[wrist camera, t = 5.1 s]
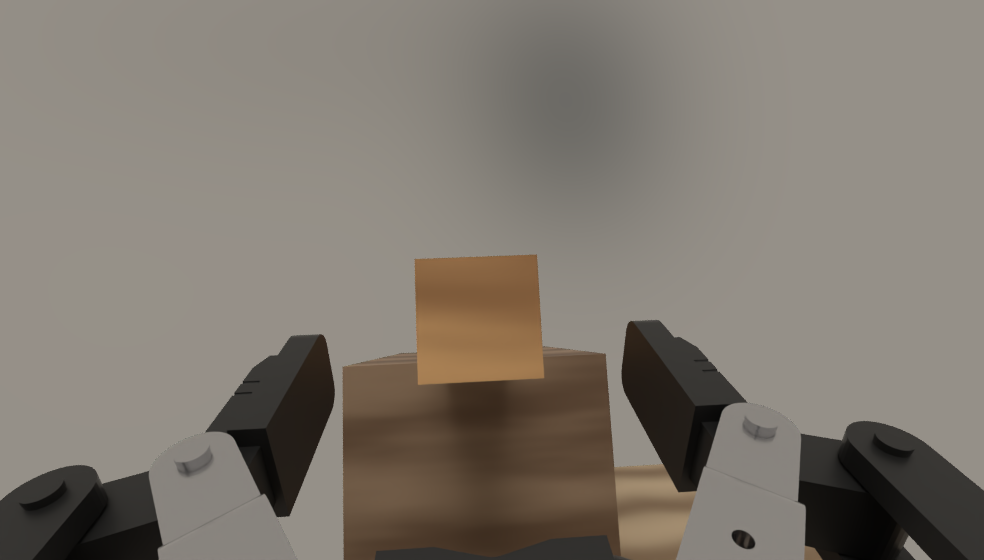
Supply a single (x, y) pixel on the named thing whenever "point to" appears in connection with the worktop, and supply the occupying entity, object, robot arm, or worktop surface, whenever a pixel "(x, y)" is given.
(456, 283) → the dowel
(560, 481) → the box
